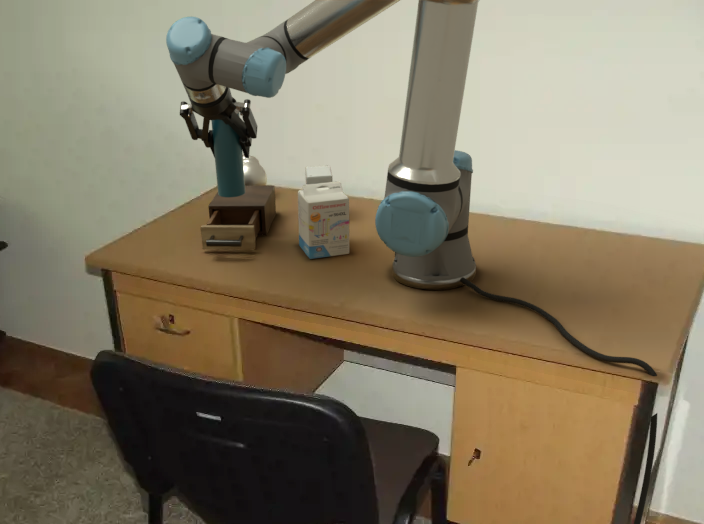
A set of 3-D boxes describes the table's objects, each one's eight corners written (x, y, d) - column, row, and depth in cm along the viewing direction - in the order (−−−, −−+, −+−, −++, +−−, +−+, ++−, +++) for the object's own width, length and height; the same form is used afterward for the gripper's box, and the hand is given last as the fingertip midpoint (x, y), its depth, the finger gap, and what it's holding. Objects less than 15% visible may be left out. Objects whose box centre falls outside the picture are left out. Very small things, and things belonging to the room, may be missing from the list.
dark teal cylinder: (251, 192, 179) (245, 107, 171) (228, 199, 176) (221, 113, 168) (234, 186, 183) (227, 103, 175) (211, 193, 180) (203, 109, 172)
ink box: (308, 260, 174) (306, 194, 167) (298, 245, 181) (296, 181, 175) (350, 254, 175) (350, 188, 169) (338, 239, 183) (337, 176, 176)
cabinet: (266, 235, 187) (264, 205, 184) (210, 235, 189) (208, 205, 186) (276, 213, 199) (274, 185, 195) (223, 213, 201) (221, 185, 198)
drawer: (251, 257, 175) (249, 234, 172) (197, 256, 177) (195, 234, 174) (264, 227, 189) (263, 206, 186) (215, 227, 191) (213, 206, 188)
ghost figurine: (273, 191, 213) (271, 150, 208) (261, 204, 205) (258, 162, 200) (238, 190, 215) (235, 149, 210) (225, 202, 208) (221, 160, 203)
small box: (333, 222, 191) (332, 175, 186) (307, 224, 192) (306, 176, 186) (331, 210, 198) (330, 164, 193) (306, 211, 199) (305, 166, 193)
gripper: (154, 107, 158) (186, 169, 180) (256, 104, 155) (276, 168, 177) (158, 70, 160) (189, 136, 182) (259, 66, 156) (278, 134, 178)
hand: (232, 152), depth 179 cm, fingers closed on dark teal cylinder, 6 cm apart
